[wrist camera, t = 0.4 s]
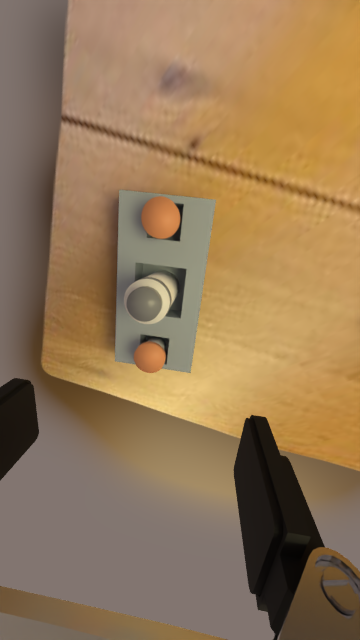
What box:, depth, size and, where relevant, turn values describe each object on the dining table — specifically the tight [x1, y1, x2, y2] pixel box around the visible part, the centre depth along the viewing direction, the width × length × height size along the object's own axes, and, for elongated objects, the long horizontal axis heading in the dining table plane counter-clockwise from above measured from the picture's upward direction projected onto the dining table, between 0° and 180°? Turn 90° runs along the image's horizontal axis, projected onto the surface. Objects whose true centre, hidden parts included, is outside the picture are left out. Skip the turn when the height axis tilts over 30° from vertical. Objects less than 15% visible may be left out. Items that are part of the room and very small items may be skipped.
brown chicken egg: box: [141, 196, 180, 239], centre depth 28 cm, size 4×4×5 cm
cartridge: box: [124, 270, 180, 324], centre depth 29 cm, size 5×5×12 cm
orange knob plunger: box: [134, 336, 166, 373], centre depth 33 cm, size 4×4×5 cm
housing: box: [115, 190, 216, 373], centre depth 33 cm, size 24×12×5 cm, turn 174°
